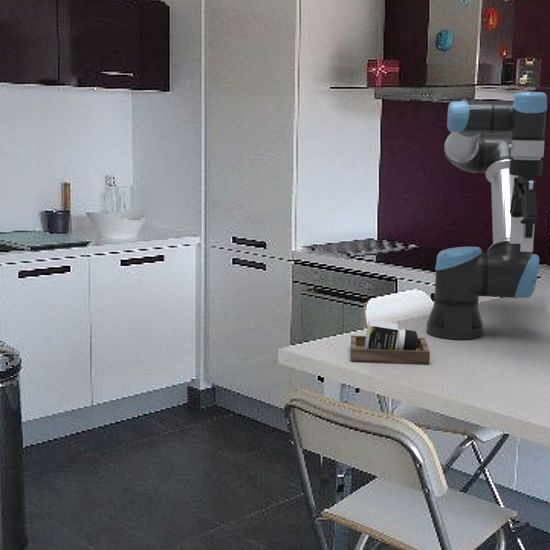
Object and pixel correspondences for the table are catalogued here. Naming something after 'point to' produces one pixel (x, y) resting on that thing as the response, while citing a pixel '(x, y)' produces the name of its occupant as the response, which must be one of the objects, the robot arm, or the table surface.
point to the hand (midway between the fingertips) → (520, 247)
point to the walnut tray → (389, 353)
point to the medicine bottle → (389, 336)
